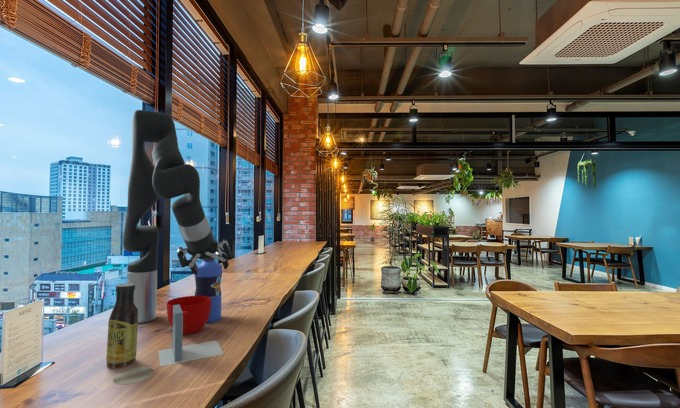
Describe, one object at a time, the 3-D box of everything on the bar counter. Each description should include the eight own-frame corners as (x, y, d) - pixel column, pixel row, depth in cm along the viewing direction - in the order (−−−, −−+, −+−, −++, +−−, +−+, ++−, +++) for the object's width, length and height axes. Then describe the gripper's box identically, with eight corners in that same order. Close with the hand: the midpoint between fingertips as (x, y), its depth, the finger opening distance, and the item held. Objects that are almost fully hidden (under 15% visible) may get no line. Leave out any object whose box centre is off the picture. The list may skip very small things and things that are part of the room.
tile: (174, 361, 84) (175, 313, 84) (172, 349, 92) (172, 305, 92) (182, 360, 85) (183, 312, 85) (179, 348, 93) (180, 304, 93)
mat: (160, 368, 82) (160, 366, 82) (158, 352, 91) (158, 350, 91) (224, 355, 89) (224, 353, 89) (216, 341, 99) (216, 340, 99)
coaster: (105, 380, 75) (105, 378, 75) (141, 366, 82) (141, 364, 82) (125, 389, 71) (125, 387, 71) (161, 374, 78) (161, 372, 78)
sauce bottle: (99, 368, 81) (102, 286, 82) (123, 358, 87) (125, 281, 88) (120, 372, 79) (122, 287, 80) (143, 361, 85) (144, 282, 86)
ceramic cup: (157, 346, 95) (158, 310, 95) (171, 327, 111) (171, 296, 111) (206, 342, 98) (207, 307, 99) (212, 324, 115) (213, 294, 115)
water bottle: (226, 316, 124) (227, 248, 124) (214, 324, 114) (215, 250, 115) (201, 315, 125) (203, 247, 125) (188, 323, 115) (189, 250, 116)
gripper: (223, 218, 97) (235, 256, 107) (171, 226, 94) (188, 265, 104) (222, 235, 91) (235, 274, 101) (166, 244, 89) (185, 284, 99)
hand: (211, 270), depth 103 cm, fingers open, 8 cm apart
